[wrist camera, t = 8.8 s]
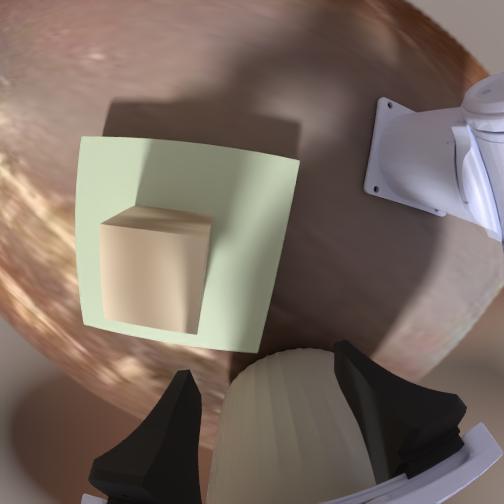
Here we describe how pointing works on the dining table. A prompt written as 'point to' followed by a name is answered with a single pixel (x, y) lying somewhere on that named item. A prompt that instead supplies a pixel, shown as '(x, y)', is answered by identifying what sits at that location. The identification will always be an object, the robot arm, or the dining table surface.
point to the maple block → (155, 267)
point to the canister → (288, 435)
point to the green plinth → (200, 201)
